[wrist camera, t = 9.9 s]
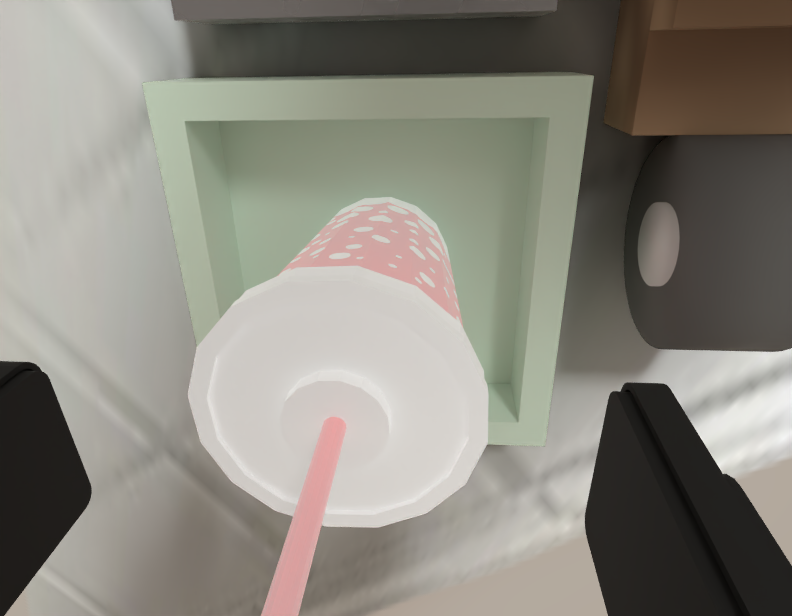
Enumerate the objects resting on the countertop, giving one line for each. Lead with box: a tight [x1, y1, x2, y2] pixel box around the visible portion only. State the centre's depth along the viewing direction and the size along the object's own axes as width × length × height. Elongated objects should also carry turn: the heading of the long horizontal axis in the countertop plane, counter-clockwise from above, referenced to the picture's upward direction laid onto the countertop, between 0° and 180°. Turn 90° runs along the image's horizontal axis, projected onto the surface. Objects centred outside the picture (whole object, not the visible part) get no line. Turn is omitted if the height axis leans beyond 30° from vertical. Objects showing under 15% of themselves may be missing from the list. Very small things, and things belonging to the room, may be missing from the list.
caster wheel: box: [624, 134, 792, 352], centre depth 15 cm, size 6×3×6 cm, turn 1°
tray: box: [142, 72, 594, 447], centre depth 18 cm, size 12×12×3 cm
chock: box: [603, 0, 792, 136], centre depth 14 cm, size 5×6×4 cm
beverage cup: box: [187, 197, 488, 616], centre depth 12 cm, size 6×6×14 cm
